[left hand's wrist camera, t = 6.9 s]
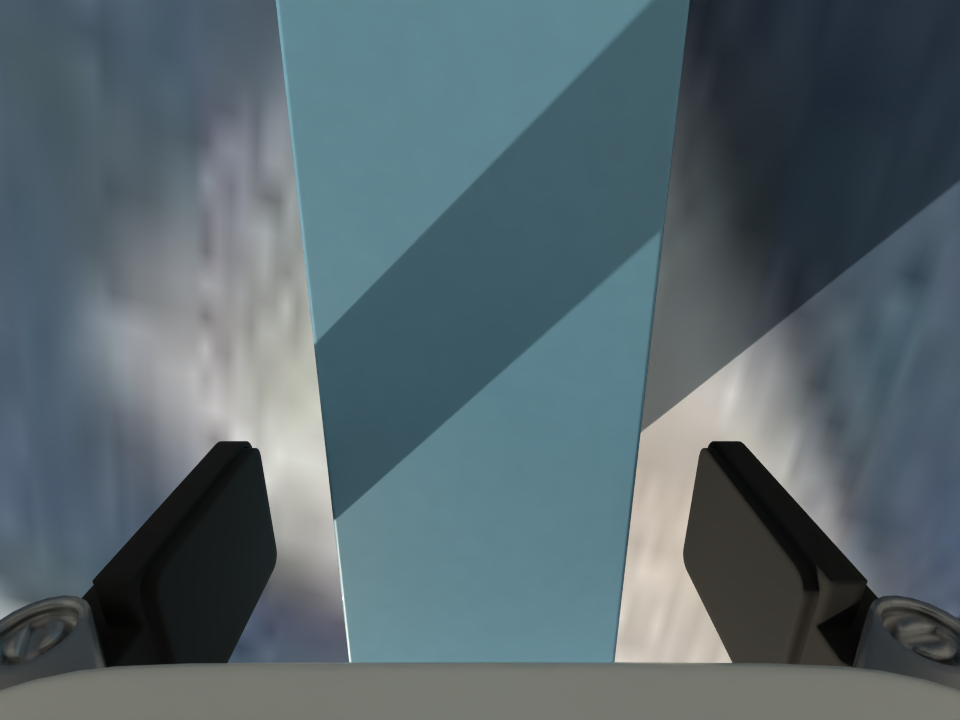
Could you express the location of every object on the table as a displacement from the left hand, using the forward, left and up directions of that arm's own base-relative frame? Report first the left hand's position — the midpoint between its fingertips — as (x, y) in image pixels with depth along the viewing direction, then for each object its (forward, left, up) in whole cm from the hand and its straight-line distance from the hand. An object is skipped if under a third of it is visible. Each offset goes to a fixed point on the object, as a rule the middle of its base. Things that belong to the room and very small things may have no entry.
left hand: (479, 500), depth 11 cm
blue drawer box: (+1, +3, -7) cm, 8 cm away
